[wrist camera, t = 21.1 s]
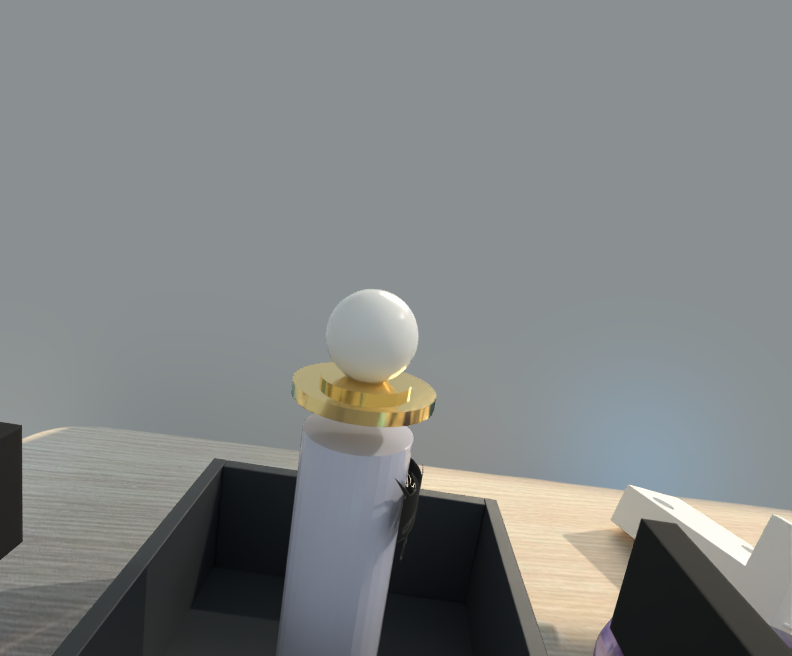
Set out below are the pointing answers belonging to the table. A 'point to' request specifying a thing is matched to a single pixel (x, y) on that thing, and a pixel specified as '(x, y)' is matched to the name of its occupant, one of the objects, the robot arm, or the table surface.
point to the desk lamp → (787, 626)
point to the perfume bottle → (352, 478)
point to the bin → (265, 573)
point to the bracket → (725, 550)
